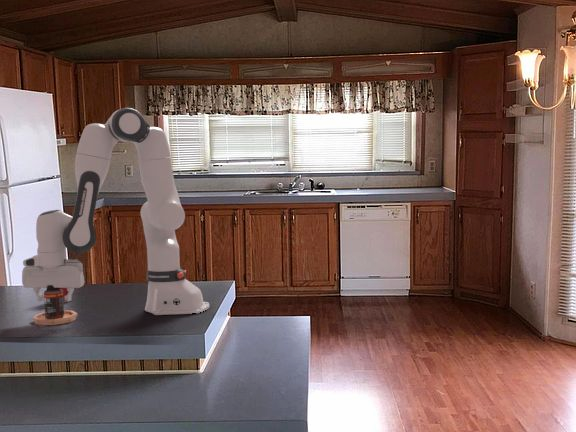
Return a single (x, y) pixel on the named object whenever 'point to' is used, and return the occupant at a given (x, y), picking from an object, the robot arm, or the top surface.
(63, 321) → the dish
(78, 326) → the top surface
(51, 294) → the supplement bottle
